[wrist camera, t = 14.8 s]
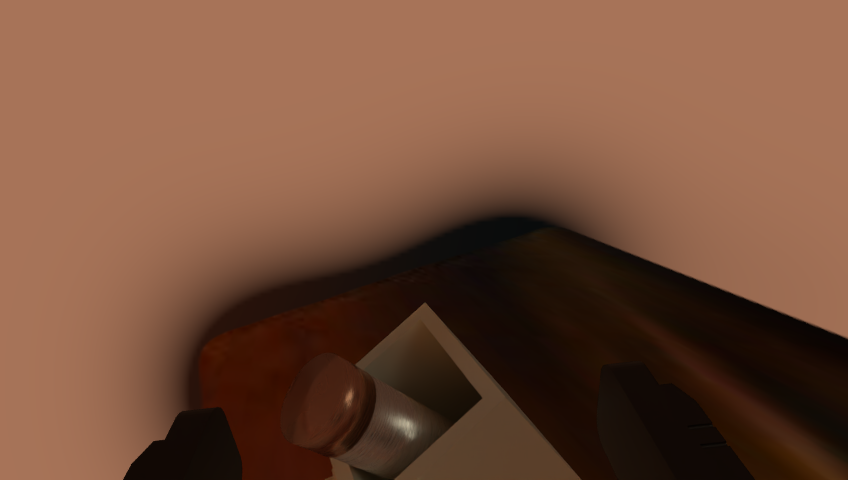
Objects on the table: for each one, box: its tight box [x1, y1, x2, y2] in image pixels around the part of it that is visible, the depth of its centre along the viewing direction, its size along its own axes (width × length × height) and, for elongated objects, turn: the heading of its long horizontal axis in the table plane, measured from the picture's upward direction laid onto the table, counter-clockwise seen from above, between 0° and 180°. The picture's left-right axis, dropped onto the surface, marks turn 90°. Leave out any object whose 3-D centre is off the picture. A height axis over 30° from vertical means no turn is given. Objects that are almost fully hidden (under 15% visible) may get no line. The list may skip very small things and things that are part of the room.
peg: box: [281, 353, 455, 480], centre depth 26 cm, size 4×4×14 cm
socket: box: [325, 303, 581, 480], centre depth 28 cm, size 13×11×15 cm
